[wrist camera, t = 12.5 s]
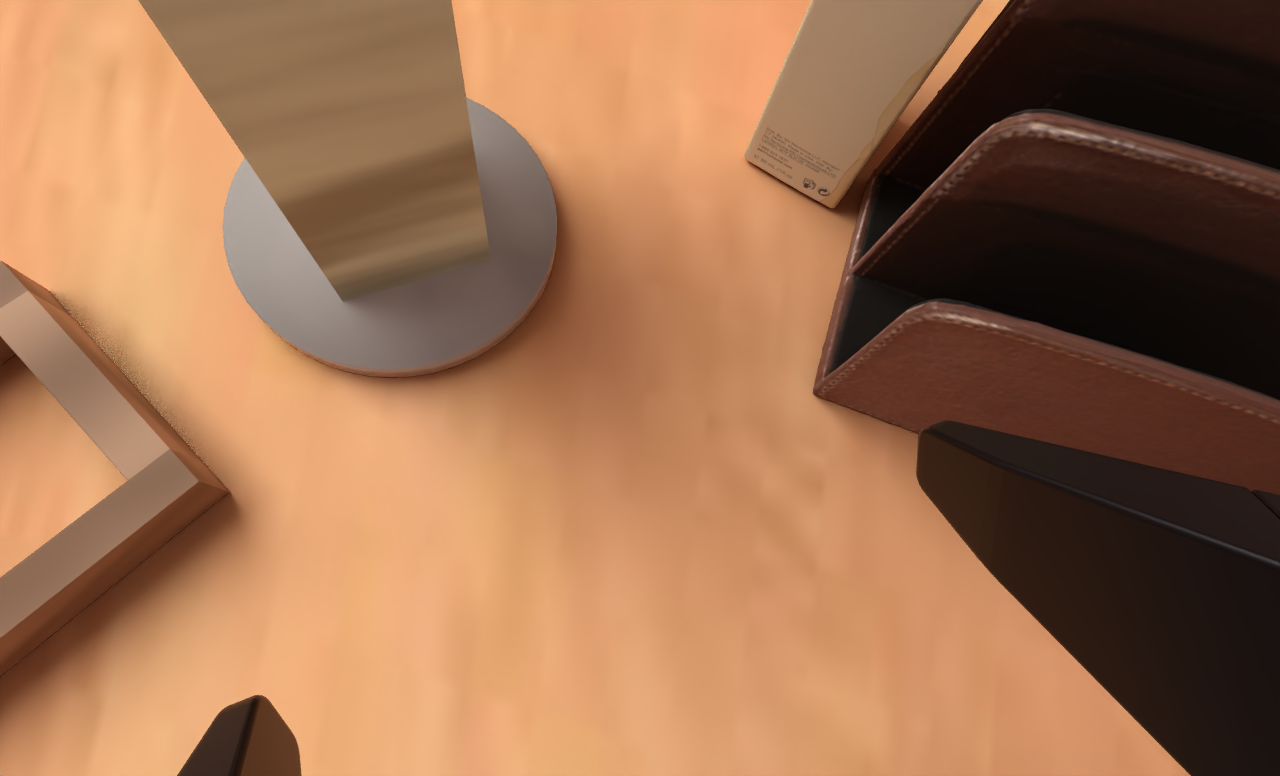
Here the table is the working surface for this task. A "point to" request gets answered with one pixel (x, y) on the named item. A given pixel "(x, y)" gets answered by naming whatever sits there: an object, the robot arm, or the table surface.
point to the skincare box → (849, 87)
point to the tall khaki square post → (345, 126)
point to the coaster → (417, 311)
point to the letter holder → (1083, 241)
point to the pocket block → (129, 437)
